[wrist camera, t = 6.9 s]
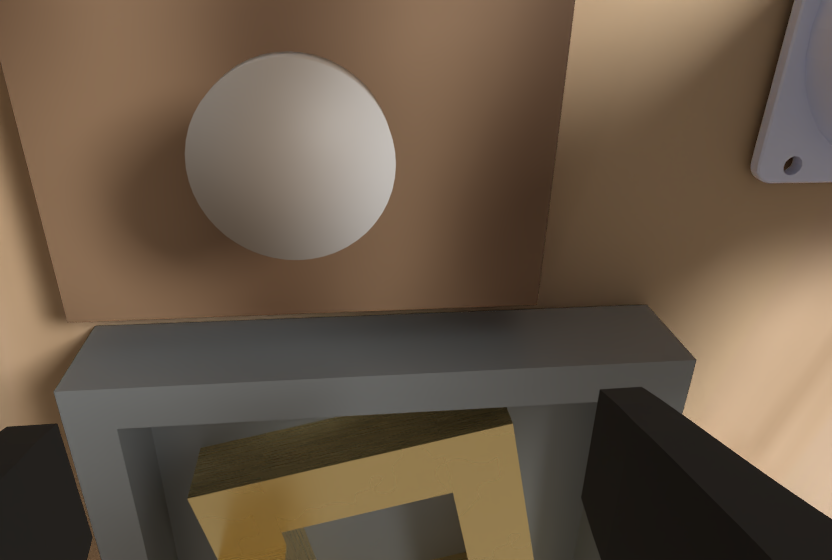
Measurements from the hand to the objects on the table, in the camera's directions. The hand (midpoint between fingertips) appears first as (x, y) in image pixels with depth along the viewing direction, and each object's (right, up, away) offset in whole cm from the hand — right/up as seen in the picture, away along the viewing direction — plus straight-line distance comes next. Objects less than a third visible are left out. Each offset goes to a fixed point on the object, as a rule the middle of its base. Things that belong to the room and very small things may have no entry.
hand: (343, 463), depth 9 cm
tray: (0, -6, +13) cm, 15 cm away
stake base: (-2, +7, +7) cm, 10 cm away
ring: (0, -5, +12) cm, 13 cm away
